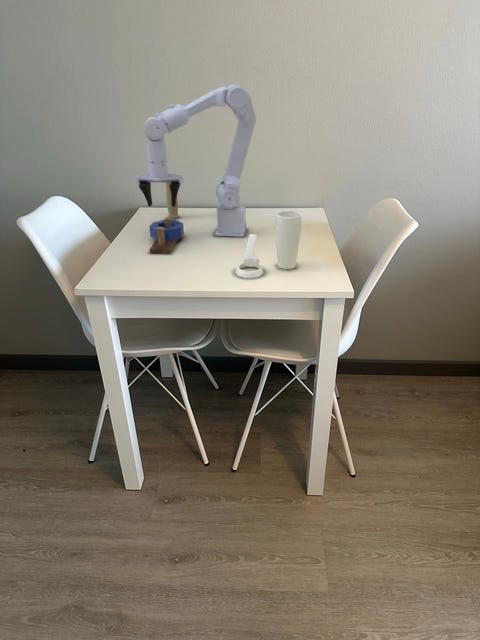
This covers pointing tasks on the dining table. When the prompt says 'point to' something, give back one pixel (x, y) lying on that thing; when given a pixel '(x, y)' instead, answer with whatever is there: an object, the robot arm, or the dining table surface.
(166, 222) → the rack
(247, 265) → the white stemmed ring
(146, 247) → the dining table surface
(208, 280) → the dining table surface
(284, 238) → the drinking glass
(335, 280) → the dining table surface
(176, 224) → the ring
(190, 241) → the dining table surface
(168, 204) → the handle
